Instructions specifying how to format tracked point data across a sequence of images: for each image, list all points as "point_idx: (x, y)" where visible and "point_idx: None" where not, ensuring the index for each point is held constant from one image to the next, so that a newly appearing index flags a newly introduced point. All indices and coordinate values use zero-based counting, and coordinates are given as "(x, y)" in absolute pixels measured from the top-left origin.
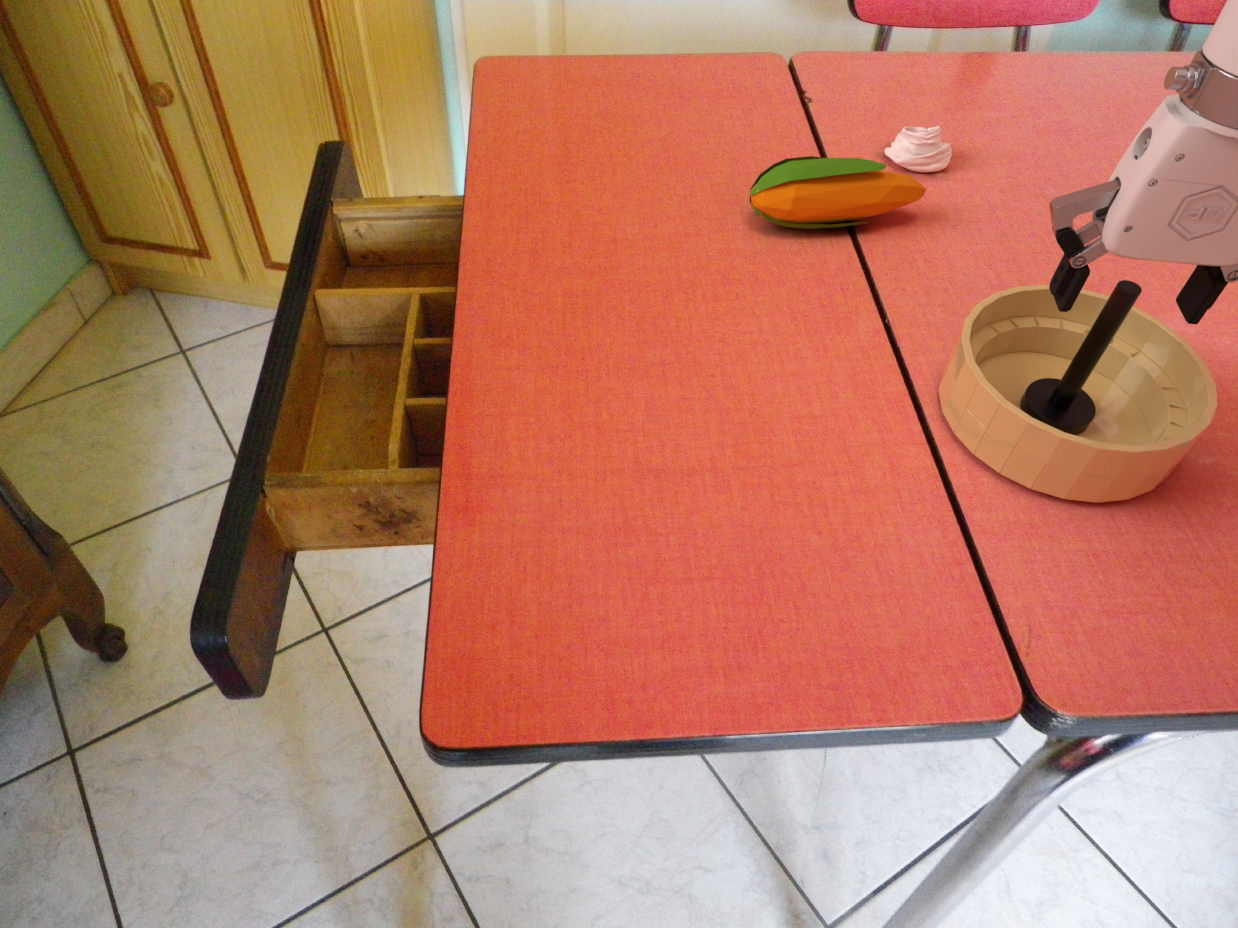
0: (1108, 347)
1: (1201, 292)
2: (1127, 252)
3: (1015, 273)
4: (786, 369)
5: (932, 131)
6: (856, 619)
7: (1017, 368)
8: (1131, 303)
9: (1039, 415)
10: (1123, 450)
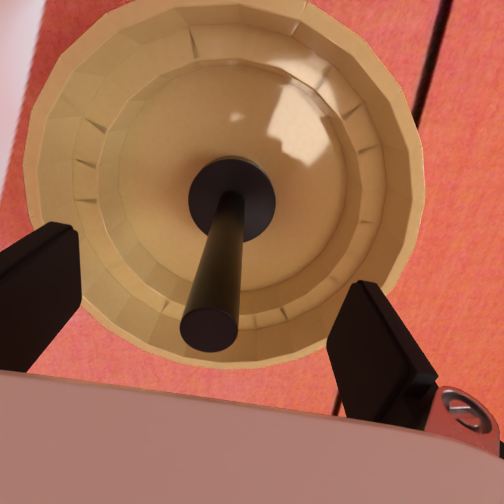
0: (144, 279)
1: (27, 291)
2: (474, 470)
3: (189, 389)
4: (500, 284)
5: None
6: None
7: (247, 268)
8: (205, 290)
9: (270, 182)
10: None
